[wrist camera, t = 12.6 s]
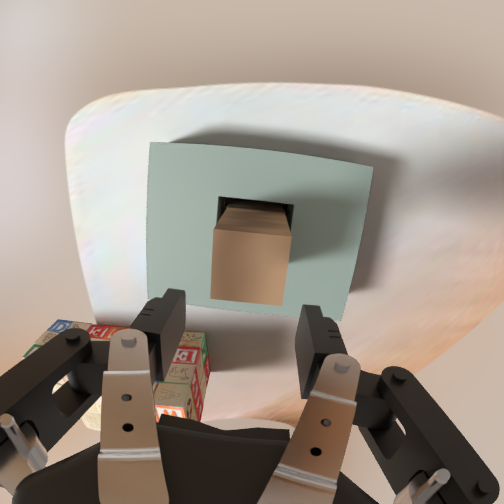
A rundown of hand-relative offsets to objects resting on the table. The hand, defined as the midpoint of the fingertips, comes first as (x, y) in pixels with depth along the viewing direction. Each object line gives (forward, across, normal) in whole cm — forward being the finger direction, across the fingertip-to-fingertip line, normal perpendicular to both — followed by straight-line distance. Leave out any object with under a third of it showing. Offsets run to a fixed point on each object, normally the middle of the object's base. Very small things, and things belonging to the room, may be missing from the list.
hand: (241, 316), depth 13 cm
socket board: (+17, 0, 0) cm, 17 cm away
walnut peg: (+17, 0, 0) cm, 17 cm away
